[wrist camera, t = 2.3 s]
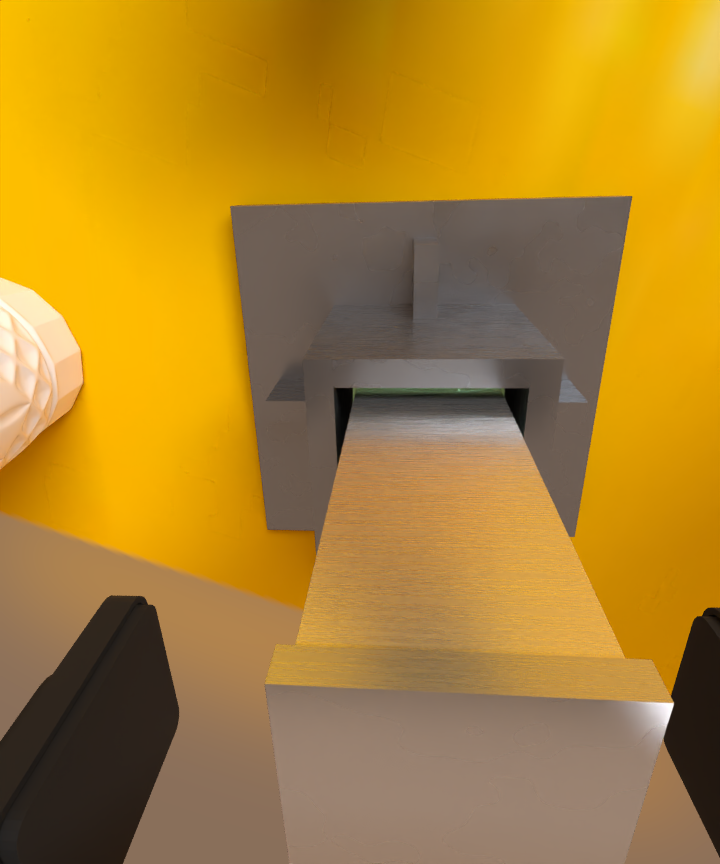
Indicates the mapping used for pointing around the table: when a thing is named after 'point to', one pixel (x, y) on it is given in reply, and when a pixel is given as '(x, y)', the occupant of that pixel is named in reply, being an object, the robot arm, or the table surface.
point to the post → (455, 659)
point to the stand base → (424, 325)
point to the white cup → (33, 368)
